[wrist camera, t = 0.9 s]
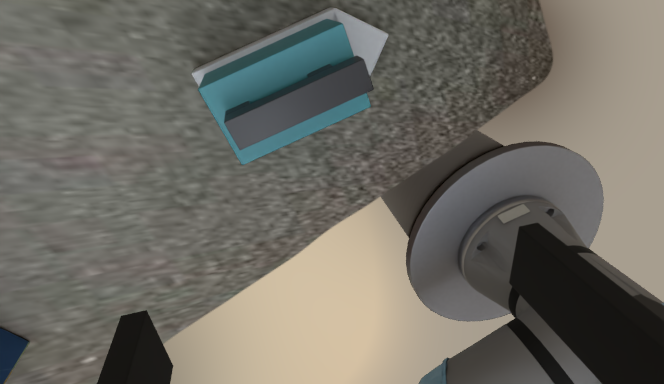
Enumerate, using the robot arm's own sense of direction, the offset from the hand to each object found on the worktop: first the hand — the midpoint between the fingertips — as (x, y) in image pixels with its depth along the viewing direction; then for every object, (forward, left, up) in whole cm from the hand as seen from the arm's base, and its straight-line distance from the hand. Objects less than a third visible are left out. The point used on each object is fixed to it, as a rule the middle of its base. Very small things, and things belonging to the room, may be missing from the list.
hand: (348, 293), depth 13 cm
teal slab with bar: (+2, -3, -28) cm, 29 cm away
